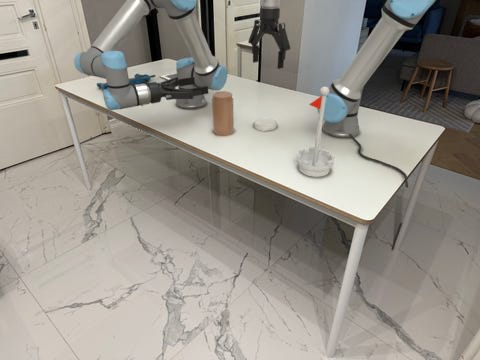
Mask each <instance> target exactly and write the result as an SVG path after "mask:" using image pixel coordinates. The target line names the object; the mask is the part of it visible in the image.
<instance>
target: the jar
mask: <svg viewBox="0 0 480 360" xmlns="http://www.w3.org/2000/svg"><path fill="white" fill-rule="evenodd" d="M211 106H212V107H211V108H212V110H211V111H212V125H213V126H212V127H213V129H212V130H213V133H214V134H215V135H217V136H228V135H229V136H230V135H232V134H233V133H234V131H235V128H234V127H235V126H234V125H235V124H234V123H235V121H234V120H235V119H234V118H235V117H234V98H233V93H232V92H230V91H226V90H218V91H216V92H213V93H212V98H211Z"/></svg>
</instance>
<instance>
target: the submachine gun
mask: <svg viewBox="0 0 480 360" xmlns="http://www.w3.org/2000/svg"><path fill="white" fill-rule="evenodd" d="M152 78H156V74H152V75H149V74H146V73H145V74H140V73H135V74H134V77H130V78H129V83H130V86H132V85H136V84H141V83H140V82H149V81H150V80H151V79H152ZM96 87H97V88H99V89H100V90H101V91H103V90H105V89H108V86H107V82H103V83H102V82H96Z"/></svg>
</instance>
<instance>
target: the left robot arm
mask: <svg viewBox="0 0 480 360" xmlns="http://www.w3.org/2000/svg"><path fill="white" fill-rule="evenodd" d="M197 2H198V0H125V2H124V3H123V5H122V6H121V7H120V8H119V9H118V11H117V12H116V14H115V15H114V16H113V17H112V19H111V20H110V21H109V22H108V24H107V25H106V26H105V28H104V29H103V30H102V32H101V33H100V34H99V35H98V37H97V38H96V39H95V41H94V42H93V43H92V45H91V46H90V47H89V48H88V49H87V50H86V51H82V52H79V53H76V55H75V56H74V59H73V61H74V62H73V63H74V67H75V69H76V71H78V72H79V73H81V74H83V75H85V76H90V77H91V76H92V77H96V78H100V79H105V80H106V83H107V86H108V89H105V90H102V97H103V101H104V104H105V107H106V108H107V110H109V111H118V110H123V109H128V108H129V109H130V108H135V107H144V106H146V105H150V104H152V105H153V104H157V103H158V104H159V103H160V102H162V98H165V99H166V101H171V100H176V101H175V102H176V106H177V107H178V108H180V109H184V110H197V109H201V108H203V107H204V106H206V105H207V99H206V97H205V95H208V94H209V90H210V91H222V89H223V88H224V87H225V85H226V83H227V80H228V68H227V67H226V66H225V65H223V64H221V65H220V62H219V60H218V58H217V57H216V56H215V55H213V54H212V51H211V50H210V46H209V44H208V42H207V39H206V37H205V34H204V32H203V29H202V27H201V24H200V22H199V20H198V18H197V14H196V13H195V10H196V7H197V6H196V5H197ZM154 9H164V11H165V13H166V14H167V16H168V18H169V19H170V20H172V21H174V22H175V24H176V26H177V29H178V31H179V33H180V34H181V37H182V39H183V41H184V43H185V45H186V48H187V50H188V52H189V53H190V55H191V56H190V57H184V58H180V59H178V60H177V61H176V64H175V66H176V72H177V77H175V78H172V79H169V80H167V79H165V80H164V81H160V82H156V81H152V82H149V81H146V82H140V83H136V84H131V85H130V83H129V79H130V77H129V73H128V72H129V71H128V64H127V62H126V57H125V54H124V53H123V52H122V51H120V50H119V48H120V47H121V46H122V45H123V43H124V42H125V41H126V39H127V38H128V37H129V35H130V34H131V33H132V31H133V30H134V29H135V27H136V26H137V24H139V22H140V21H141V19H142V18H143V16H148V14H149V13H150V12H151V11H153V10H154ZM177 87H178V88H177Z"/></svg>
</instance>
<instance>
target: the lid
mask: <svg viewBox="0 0 480 360" xmlns="http://www.w3.org/2000/svg"><path fill="white" fill-rule="evenodd" d="M253 126H254V128H255V129H256V130H258V131H262V132H263V131H264V132H268V131H269V132H270V131H273V130H275V129H276V128H277V120H276V119H275V118H272V117H266V116H264V117H258V118H256V119H254V121H253Z"/></svg>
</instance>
